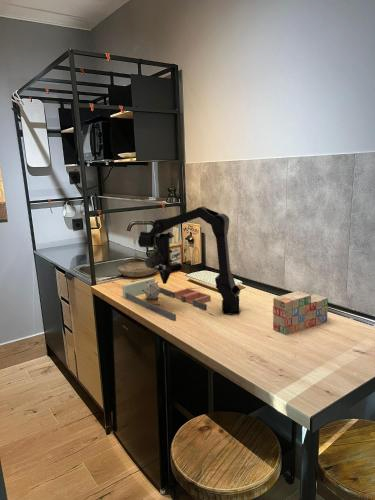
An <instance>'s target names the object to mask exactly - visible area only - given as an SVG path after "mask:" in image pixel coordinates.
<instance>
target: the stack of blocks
mask: <svg viewBox="0 0 375 500" xmlns="http://www.w3.org/2000/svg"><path fill="white" fill-rule="evenodd" d="M328 301H329V300H328V297H326V296H322V295H319V294H317V293H313V294H309V293H306V292H302V291H299V290H297V291H293V292H290V293H286V294H283V295H278V296H275V297H273V305H272V314H273V315H272V317H273V318H272V319H273V322H272V325H273V326H272V330H274V331H276V332H278V333H280V334H282V335H285V336H288V335H291V334H295V333H297V332H300V331H304V330H305V329H309V328H311V327H315V326H317V325H320V324H323V323H325V322H328V311H329V310H328V307H329V306H328V303H329V302H328Z"/></svg>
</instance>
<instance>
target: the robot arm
mask: <svg viewBox="0 0 375 500" xmlns="http://www.w3.org/2000/svg"><path fill="white" fill-rule="evenodd" d="M198 218H200V219H201V220H202V221H204V222H205V223H206V224H209V225H210V226H211V231H212V232H213V234H214V237H215V241H216V243H215V244H216V250H217V252H216V253H217V261H218V270H219V274H218V275H217V276H216V277H215V278H214V281H215V288H216V289H217V292H218V293H219V294H220V295H221V298H222V300H221V306H222V307H221V310H222V312H223V315H240V313H241V311H240V294H241V288H240V287H239V286H238V285H237V284H236V282H235V278H234V276H233V273H232V271H231V266H230V265H231V264H230V256H229V255H230V253H229V243H228V242H229V241H228V233H229V228H230V227H229V226H230V219H229V218H230V217H229V216H228V215H227V214H225V213H219V212H217V211H215V210H212V209H209V208H207V207H206V206H204V205H203V206H202V205H201V206H199V207H197V208H195V209H191V210H190V211H187V212H183V213H181V214H178V215H175V216H167V217H162V218H159V219H156V220H154V222H153V224H152V227H151V229H150V231H140V232H139V234H140V235H139V237H138V240H137V243H138V246H139V247H140V248H150V249H151V248H152V249H153V248H155V249H156V250H154V251H153V255H151V256H149V257H147V258H146V259H144V262H145V264H146V266H147V268H150V269H153V268H154V269H156V270H157V271H156V272H158V275H159V276H160V278H161V281H162V283H163V285H165V284H167V283H168V281H169V278H170V275H172V273H171V272H175V273H177V272H176V271H179V272H181V271H180V270H182V264H181V263H177V262H174V263H170V262H172V259H170V253H172V250H170V244H171V243H170V242H171V241H170V239H173V238H174V237H175V235H174V234H173V233H171V232H172V231H170V230H171V229H173V228H175V227H176V226H178V225H181V224H184V223H186V222H189V221H192V220H195V219H198ZM168 231H169V232H168ZM165 232H167V233H165ZM155 246H156V247H155ZM165 264H166V265H165Z"/></svg>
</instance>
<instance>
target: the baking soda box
mask: <svg viewBox="0 0 375 500" xmlns="http://www.w3.org/2000/svg"><path fill="white" fill-rule="evenodd" d="M170 250H172V253H170V259H172V262H170V263H174V262H177V263H181V264H182V263H184V262H183V259H184V258H183V244H181V243H178V242H177V243H176V242H174V243H170ZM165 265H166V264H165ZM179 272H182V271H181V270H180V271H176V272H171V274H175V273H179Z"/></svg>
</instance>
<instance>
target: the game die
mask: <svg viewBox="0 0 375 500" xmlns="http://www.w3.org/2000/svg"><path fill="white" fill-rule="evenodd" d="M158 283H159V281H156V282H155V283H148V282H147V285H146V287H145V289H144V290H142V291H144V295H145V297H146V300H145V301H148V299H149V300H151V299H152V300H153V299H156V300H157V301H158V297H159V295H160V294H161V293H160V291H161V292H162V290H160V288H159V287H160V286H159V284H158Z"/></svg>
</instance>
